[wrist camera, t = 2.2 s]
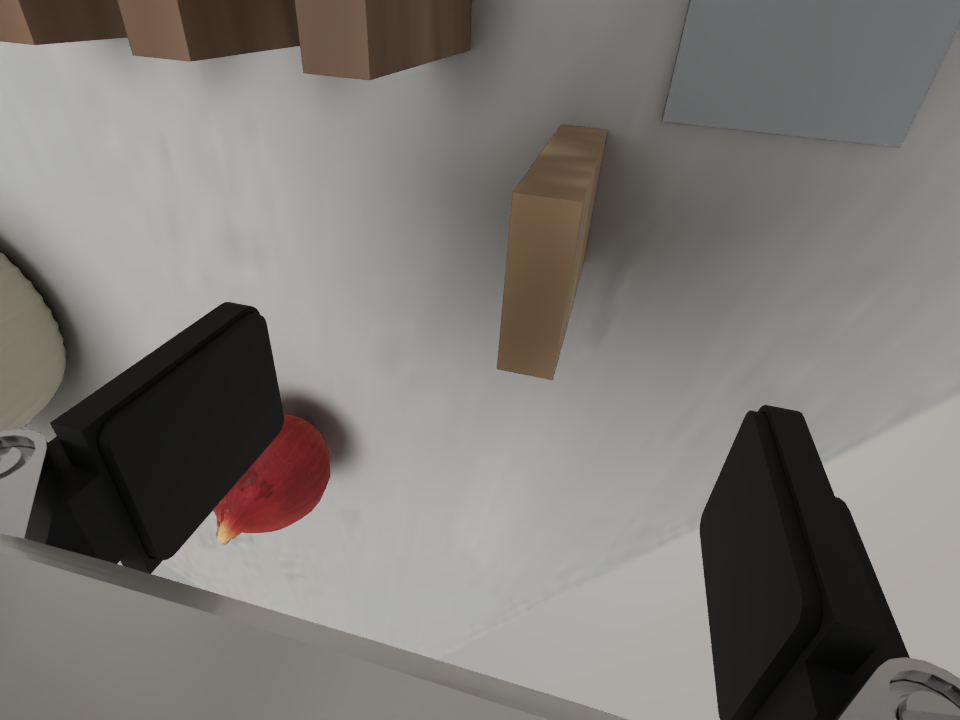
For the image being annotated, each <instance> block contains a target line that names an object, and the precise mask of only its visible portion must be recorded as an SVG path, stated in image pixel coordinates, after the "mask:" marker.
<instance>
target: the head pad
mask: <svg viewBox="0 0 960 720" xmlns="http://www.w3.org/2000/svg"><path fill="white" fill-rule="evenodd" d="M959 25H960V0H690V3H689V7H688V11H687V16H686V20H685V24H684V29H683V33H682V37H681V41H680V46H679V50H678V54H677V59H676V63H675V67H674V71H673V76H672V80H671V84H670V89H669V93H668V97H667V101H666V106H665V110H664V114H663V119H662V122H669V123H678V124H688V125H697V126H706V127H715V128H724V129H733V130H743V131H752V132H761V133H770V134H779V135H789V136H798V137H807V138H816V139H825V140H834V141H844V142H853V143H862V144H871V145H880V146H889V147H899V148H900V146H901V144H902V142H903V140H904V138H905V136H906V134H907V132H908V130H909V128H910V126H911V124H912V122H913V120H914V118H915V115H916V113H917V111H918V109H919V107H920V105H921V103H922V101H923V99H924V97H925V95H926V93H927V91H928V89H929V87H930V84H931V82H932V80H933V78H934V76H935V74H936V72H937V70H938V68H939V66H940V64H941V62H942V60H943V58H944V56H945V54H946V51H947V49H948V47H949V45H950V43H951V41H952V39H953V37H954V35H955V33H956V31H957V29H958V27H959Z"/></svg>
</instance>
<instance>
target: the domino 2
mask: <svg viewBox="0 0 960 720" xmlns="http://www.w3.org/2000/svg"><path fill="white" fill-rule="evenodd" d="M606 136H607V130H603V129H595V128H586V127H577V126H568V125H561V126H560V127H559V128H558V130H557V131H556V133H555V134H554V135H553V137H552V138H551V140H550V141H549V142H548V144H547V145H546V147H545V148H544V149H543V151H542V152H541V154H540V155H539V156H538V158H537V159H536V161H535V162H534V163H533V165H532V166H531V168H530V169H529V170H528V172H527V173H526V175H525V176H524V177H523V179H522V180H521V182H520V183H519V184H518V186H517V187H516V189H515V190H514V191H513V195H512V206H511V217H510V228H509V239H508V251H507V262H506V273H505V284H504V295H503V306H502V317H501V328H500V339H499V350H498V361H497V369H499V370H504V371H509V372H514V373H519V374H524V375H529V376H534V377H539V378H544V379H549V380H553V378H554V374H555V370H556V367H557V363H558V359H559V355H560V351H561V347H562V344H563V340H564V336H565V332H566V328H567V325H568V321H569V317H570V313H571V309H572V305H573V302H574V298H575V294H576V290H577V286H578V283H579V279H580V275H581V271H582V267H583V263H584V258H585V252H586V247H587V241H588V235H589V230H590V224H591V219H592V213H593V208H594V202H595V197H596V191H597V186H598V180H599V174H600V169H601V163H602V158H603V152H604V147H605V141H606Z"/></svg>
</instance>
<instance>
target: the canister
mask: <svg viewBox="0 0 960 720" xmlns="http://www.w3.org/2000/svg"><path fill="white" fill-rule="evenodd" d="M51 313H52V312H51V310H50V309H49V308H48V307H47V306H46V305H45V303H44V301H43V297H42V296H41V295H40V294H39V293H38V292H37V291H36V290H35V289H34V287H33V285H32V283H31V282H30V281H29V280H27V279H26V278H25V277H24V276H23V275H22V273H21V271H20V270H19V268H18V267H16V266H14V265H13V264H12V263H11V262H10V261H9V260H8V258H7V257H6V256H5V254H3V253H0V431H6V430H15V429H22V428H23V427H24V426H25V425H27V424H28V423H29V422H30V421H31V420H32V419H33V418H34V417H35V416H36V415H37V414H38V413H39V412H41V411H42V410H43V409H44V407H45V406H46V405H47V404H48V403H49V402H50V401H51V399H52V398H53V396H54V395H55V393H56V391H57V389H58V388H59V386H60V384H61V382H62V380H63V377H64V371H65V368H66V358H65V356H66V350H65V347H64V345H63V337H62V335H61V334H60V332H59V330H58V324H57V322H56V321H55V320H54V318H53V316H52V314H51Z"/></svg>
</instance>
